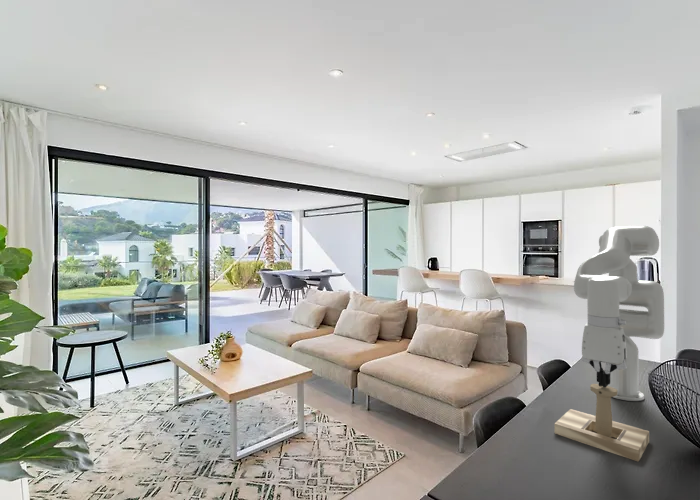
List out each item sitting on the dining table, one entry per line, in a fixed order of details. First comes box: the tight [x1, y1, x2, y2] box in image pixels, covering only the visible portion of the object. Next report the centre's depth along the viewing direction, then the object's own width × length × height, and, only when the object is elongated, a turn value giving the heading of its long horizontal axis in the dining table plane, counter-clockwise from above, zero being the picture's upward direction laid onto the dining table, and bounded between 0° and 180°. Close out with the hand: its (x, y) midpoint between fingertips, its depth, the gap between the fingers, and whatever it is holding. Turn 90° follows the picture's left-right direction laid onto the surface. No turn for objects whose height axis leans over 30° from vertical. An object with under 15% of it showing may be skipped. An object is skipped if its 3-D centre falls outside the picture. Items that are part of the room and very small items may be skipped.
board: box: [554, 408, 650, 462], centre depth 108 cm, size 14×20×3 cm
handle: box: [589, 383, 617, 438], centre depth 106 cm, size 5×6×15 cm
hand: (603, 385), depth 106 cm, fingers closed
